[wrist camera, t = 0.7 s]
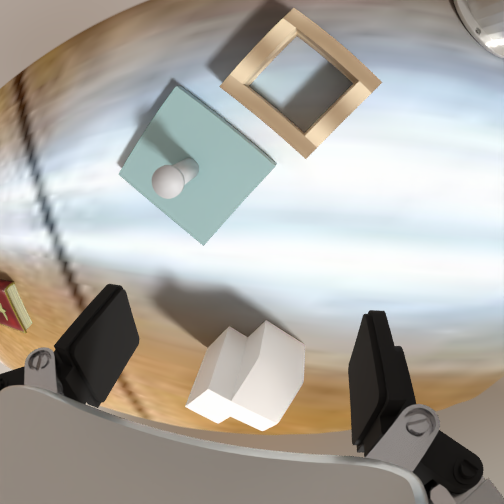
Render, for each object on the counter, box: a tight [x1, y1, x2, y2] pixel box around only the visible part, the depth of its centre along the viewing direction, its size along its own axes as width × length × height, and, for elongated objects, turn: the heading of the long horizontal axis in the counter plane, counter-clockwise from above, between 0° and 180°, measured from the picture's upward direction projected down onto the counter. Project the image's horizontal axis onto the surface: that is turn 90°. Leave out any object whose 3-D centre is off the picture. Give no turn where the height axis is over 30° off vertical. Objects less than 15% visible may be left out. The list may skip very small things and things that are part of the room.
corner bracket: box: [185, 320, 305, 431], centre depth 40 cm, size 11×11×12 cm
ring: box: [220, 8, 382, 159], centre depth 26 cm, size 11×11×4 cm
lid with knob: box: [119, 86, 277, 246], centre depth 30 cm, size 13×14×8 cm
